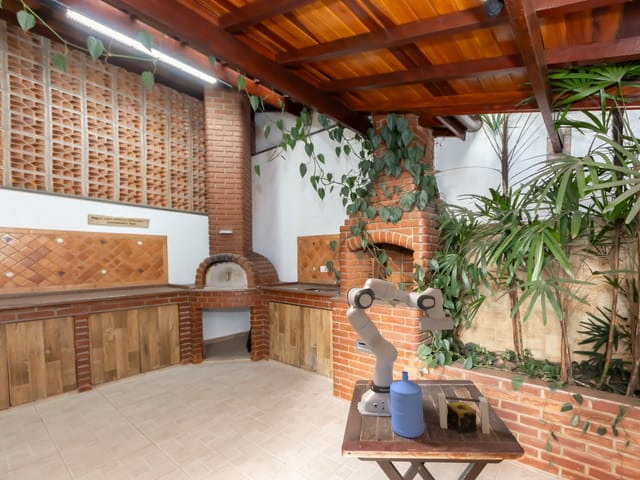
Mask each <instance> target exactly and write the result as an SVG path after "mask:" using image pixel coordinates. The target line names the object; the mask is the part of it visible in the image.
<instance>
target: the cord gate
mask: <svg viewBox="0 0 640 480" xmlns="http://www.w3.org/2000/svg"><path fill="white" fill-rule="evenodd" d="M447 400H451V401H452V400H453V401H459V402H469V403H470V402H473V403H478V406H479V407H478V408H479V409H478V410H479V421H480V422H479V424H480V425H479V426H480V429H481V431H482V434H486V435H487V434H489V435H490V419H489V418H490V417H489V402H488V400H487V398H486V397H485V396H478V399H474V398H464V397H453V396H446V395H445V393H442V392H438V408H439V409H438V411H439V424H440V428H442V429H448V423H447Z"/></svg>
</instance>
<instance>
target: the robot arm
mask: <svg viewBox="0 0 640 480" xmlns="http://www.w3.org/2000/svg"><path fill="white" fill-rule="evenodd" d="M346 299H347V304H348V307H349V308H348V309H347V310H346V313H345V316H346V318H347V321H348V323H349V324H350V326H351V327H352V328H353V330H354V331H355V332H356V333H357V335H358V336H359V337H360V338H361V340H362V341H363V343H364V344H365V346H366V347H367V349H368V350H369V351H370V353H371V354H372V355H373V356H375V365H374V367H373V369H372V372H373V374H372V375H373V376H372V377H373V381H371V380H369V381H368V383H367V384H368V386H369V387H370V388H369V389H368V390H367V391H366V392H364V393H363V394H362V395H361V399H360V400H361V401H358V403H357V406H358V407H357V411H358V410H359V411H358V412H359V413H360V415H362V416H371V417H373V416H374V417H390V416H391V395H390V385H391V384H392V383H393V382H394V374H393V373H394V364H395V361H396V360H397V359H398V356H399V351H398V349H397V348H396V347H395V345H394V344H393V343H391V342H390V341H388V340H387V339H385V337H383V335H382V333H380V330H379V328H378V327H377V325H376V324H375V323H374V322H373V321H372V319H371V318H370V317H369V315H368V314H367V313H366V311H365V310H367V309H369V308H371V306H373V303H374V300H375V299H380V300H383V301H389V302H391V301H393V300H397V301H400V302H403V303H405V304H406V305H407V306H408V307H410V308H413V309H417V310H420V311H427V314H421V315H419V316H418V321H419V322H418V328H419V330H420V331H424V332H425V331H431V333H432V334H433V337H434V338H441V337H440V335H441V334H442V331H446V330H454V327H455V326H454V320H453V318H452V317H453V316H452V314H451V313H449V312H447V311H444V308H443V301H444V300H443V294H442V290H441V289H440V288H438V287H432V286H429V287H427V288H426V289H425V290H424V291H423V292H417V291H404V290H401V289H398V287H397V285H396V284H394V283H392V282H390V281H387V280H384V279H380V278H368V279H367V280H366V281H365V283H364V286H363V287H358V286H353V287H351V288H349V290H348V291H347V292H346ZM436 331H437V333H436ZM391 417H392V416H391Z"/></svg>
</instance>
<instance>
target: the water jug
mask: <svg viewBox="0 0 640 480" xmlns="http://www.w3.org/2000/svg"><path fill="white" fill-rule="evenodd" d="M422 391H423V389H422V387H421V385H420V384H419V383H416V382H413V381H412V380H409V371H405V370H404V371H403V370H402V371H401V380H397V381H393V383H392V384H391V385H390V395H391V429H392V430H393V432H394V433H396V434H397V435H399V436H401V437H404V438H410V439H413V438H417V437H420V436H422V435H423V433H424V432H425V425H424V408H423V392H422Z"/></svg>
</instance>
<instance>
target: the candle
mask: <svg viewBox="0 0 640 480" xmlns="http://www.w3.org/2000/svg"><path fill="white" fill-rule="evenodd" d="M446 411H447V413H446V415H447V425H449V426H450V427H451V428H453V430H455V431H456V432H457V433H458V434H465V433H466V434H467V433H473V432H477V431H478V424H477V410H476V409H474V408H473V407H471V406H470V405H469V404H467V403H466V401H456V402H448V403H447V402H446Z"/></svg>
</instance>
